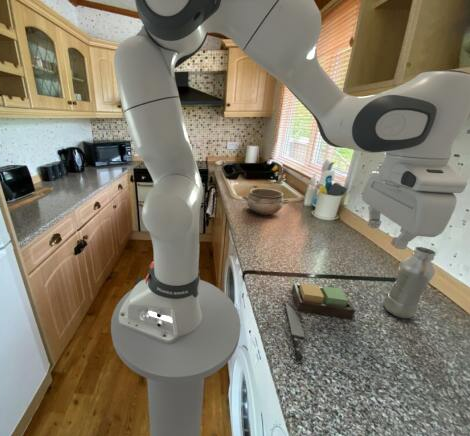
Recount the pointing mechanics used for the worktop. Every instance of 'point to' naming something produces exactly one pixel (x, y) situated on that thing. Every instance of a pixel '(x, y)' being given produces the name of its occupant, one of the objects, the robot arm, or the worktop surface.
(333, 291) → the green block
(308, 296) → the tan block
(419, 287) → the plastic bottle
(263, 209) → the cooking pot
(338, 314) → the brown wooden tray
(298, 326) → the chef's knife
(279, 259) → the worktop surface
